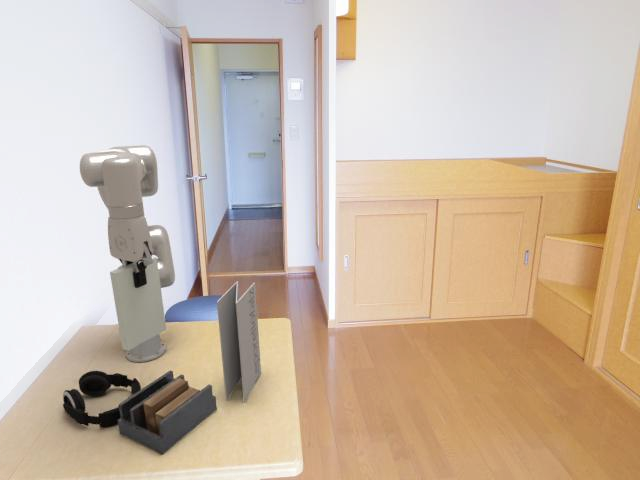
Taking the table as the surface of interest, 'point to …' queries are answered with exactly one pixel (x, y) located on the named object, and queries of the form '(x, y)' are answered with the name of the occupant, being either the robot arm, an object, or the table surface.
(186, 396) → the offcut short
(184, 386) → the offcut tall
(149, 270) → the pale grey panel
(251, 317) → the brochure
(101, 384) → the headphones
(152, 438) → the rack
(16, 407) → the table surface
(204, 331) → the table surface
